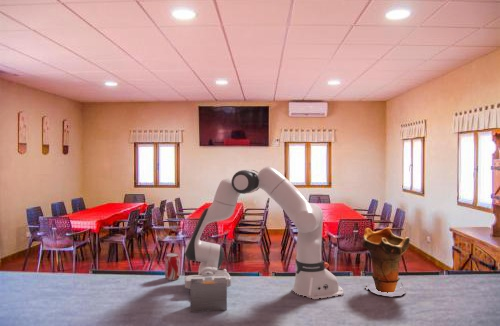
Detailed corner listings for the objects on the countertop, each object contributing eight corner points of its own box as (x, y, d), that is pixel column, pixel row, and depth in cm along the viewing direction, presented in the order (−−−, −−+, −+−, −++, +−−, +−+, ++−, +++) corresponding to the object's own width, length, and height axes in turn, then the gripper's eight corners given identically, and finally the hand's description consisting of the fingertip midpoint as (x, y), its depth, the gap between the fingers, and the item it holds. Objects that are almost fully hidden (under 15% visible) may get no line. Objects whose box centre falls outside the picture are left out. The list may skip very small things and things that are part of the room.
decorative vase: (382, 303, 152) (381, 235, 152) (352, 286, 174) (351, 226, 174) (424, 297, 158) (423, 232, 158) (389, 281, 180) (388, 224, 180)
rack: (225, 303, 151) (225, 276, 151) (226, 310, 145) (226, 281, 145) (190, 305, 149) (190, 277, 149) (190, 312, 143) (190, 283, 143)
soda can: (176, 281, 177) (176, 257, 176) (162, 280, 178) (162, 256, 178) (182, 276, 184) (181, 253, 183) (168, 275, 185) (168, 252, 185)
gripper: (184, 270, 167) (183, 281, 154) (229, 268, 170) (232, 279, 156) (185, 284, 168) (183, 296, 154) (229, 282, 170) (232, 293, 157)
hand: (208, 287), depth 155 cm, fingers closed
